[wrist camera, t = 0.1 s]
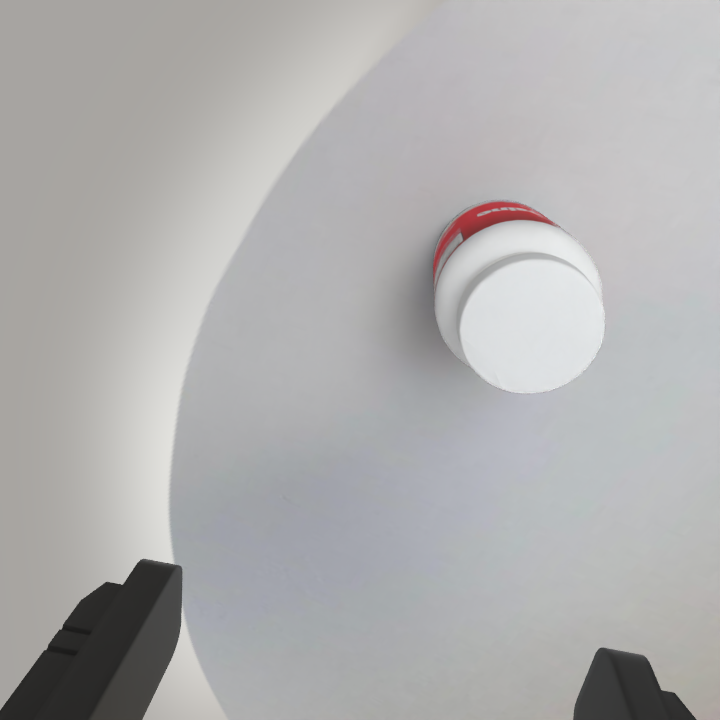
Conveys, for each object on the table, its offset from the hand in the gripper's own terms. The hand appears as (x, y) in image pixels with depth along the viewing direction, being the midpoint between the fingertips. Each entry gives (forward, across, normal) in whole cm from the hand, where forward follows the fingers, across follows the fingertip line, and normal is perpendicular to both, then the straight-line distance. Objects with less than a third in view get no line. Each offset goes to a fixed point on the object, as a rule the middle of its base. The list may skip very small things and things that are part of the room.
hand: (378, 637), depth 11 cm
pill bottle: (+21, -4, -3) cm, 22 cm away
